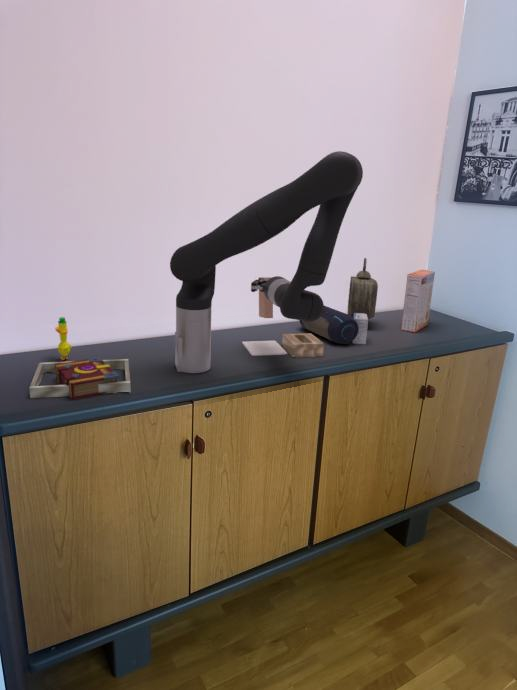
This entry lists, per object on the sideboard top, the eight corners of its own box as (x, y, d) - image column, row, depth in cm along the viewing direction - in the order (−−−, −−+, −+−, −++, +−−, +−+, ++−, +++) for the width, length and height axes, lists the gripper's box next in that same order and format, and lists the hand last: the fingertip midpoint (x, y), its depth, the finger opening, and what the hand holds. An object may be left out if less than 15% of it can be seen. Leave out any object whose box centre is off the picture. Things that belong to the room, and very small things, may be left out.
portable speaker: (293, 328, 182) (294, 300, 179) (316, 325, 186) (318, 298, 183) (335, 348, 161) (338, 318, 158) (360, 345, 166) (363, 315, 162)
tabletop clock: (346, 320, 196) (352, 254, 189) (370, 321, 195) (377, 256, 188) (347, 329, 183) (354, 260, 175) (372, 332, 182) (381, 261, 174)
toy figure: (52, 357, 141) (49, 315, 138) (65, 354, 144) (62, 313, 140) (62, 363, 137) (59, 320, 133) (75, 361, 139) (72, 318, 135)
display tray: (30, 398, 115) (29, 388, 114) (40, 371, 130) (39, 362, 130) (130, 392, 120) (130, 382, 120) (128, 367, 136) (128, 358, 135)
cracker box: (412, 322, 197) (420, 269, 190) (428, 325, 193) (436, 271, 187) (399, 330, 186) (406, 273, 179) (415, 333, 182) (423, 275, 176)
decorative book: (71, 402, 115) (70, 381, 113) (53, 379, 127) (52, 360, 126) (120, 393, 121) (119, 373, 120) (99, 371, 134) (98, 353, 132)
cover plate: (265, 318, 151) (265, 277, 150) (258, 316, 158) (258, 277, 156) (272, 317, 152) (272, 277, 150) (266, 316, 159) (266, 277, 157)
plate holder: (293, 357, 150) (294, 344, 149) (281, 346, 160) (282, 334, 159) (322, 356, 153) (323, 343, 152) (309, 345, 163) (310, 333, 162)
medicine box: (365, 344, 166) (368, 319, 163) (351, 343, 167) (354, 318, 164) (364, 338, 174) (367, 313, 171) (351, 337, 174) (353, 312, 171)
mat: (252, 356, 150) (252, 354, 150) (241, 342, 162) (242, 341, 162) (287, 354, 153) (287, 353, 153) (274, 341, 165) (275, 340, 165)
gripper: (306, 278, 140) (286, 268, 156) (257, 279, 136) (242, 268, 152) (304, 305, 142) (285, 292, 158) (256, 306, 138) (241, 293, 154)
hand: (264, 281), depth 155 cm, fingers closed on cover plate, 2 cm apart
